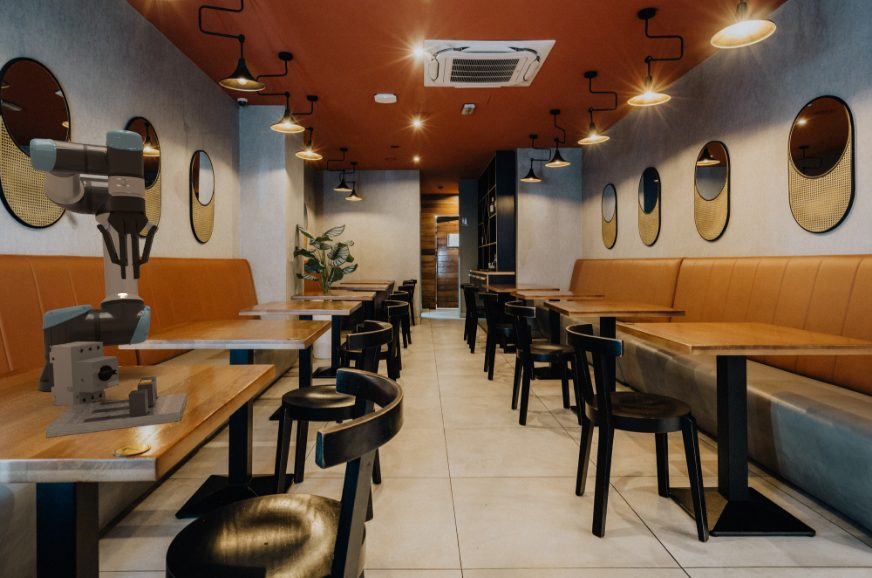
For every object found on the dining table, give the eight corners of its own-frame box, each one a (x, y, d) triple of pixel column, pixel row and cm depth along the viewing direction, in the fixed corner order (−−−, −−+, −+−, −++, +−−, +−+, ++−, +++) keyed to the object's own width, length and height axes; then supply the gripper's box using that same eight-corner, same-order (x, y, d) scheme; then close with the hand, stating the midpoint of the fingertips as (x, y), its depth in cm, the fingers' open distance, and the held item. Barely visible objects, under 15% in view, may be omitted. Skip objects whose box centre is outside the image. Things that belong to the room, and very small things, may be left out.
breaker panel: (72, 413, 114) (71, 384, 114) (186, 400, 123) (185, 373, 123) (46, 437, 98) (44, 403, 97) (179, 420, 107) (178, 389, 107)
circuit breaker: (99, 407, 119) (96, 347, 118) (52, 405, 121) (49, 346, 121) (125, 399, 126) (122, 342, 125) (79, 397, 129) (76, 341, 128)
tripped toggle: (141, 403, 113) (139, 380, 113) (155, 401, 114) (154, 378, 114) (138, 407, 110) (137, 383, 110) (153, 405, 111) (152, 382, 111)
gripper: (91, 193, 112) (95, 294, 114) (155, 195, 117) (159, 292, 118) (99, 197, 119) (104, 292, 121) (160, 199, 124) (163, 290, 125)
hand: (131, 292), depth 120 cm, fingers closed
